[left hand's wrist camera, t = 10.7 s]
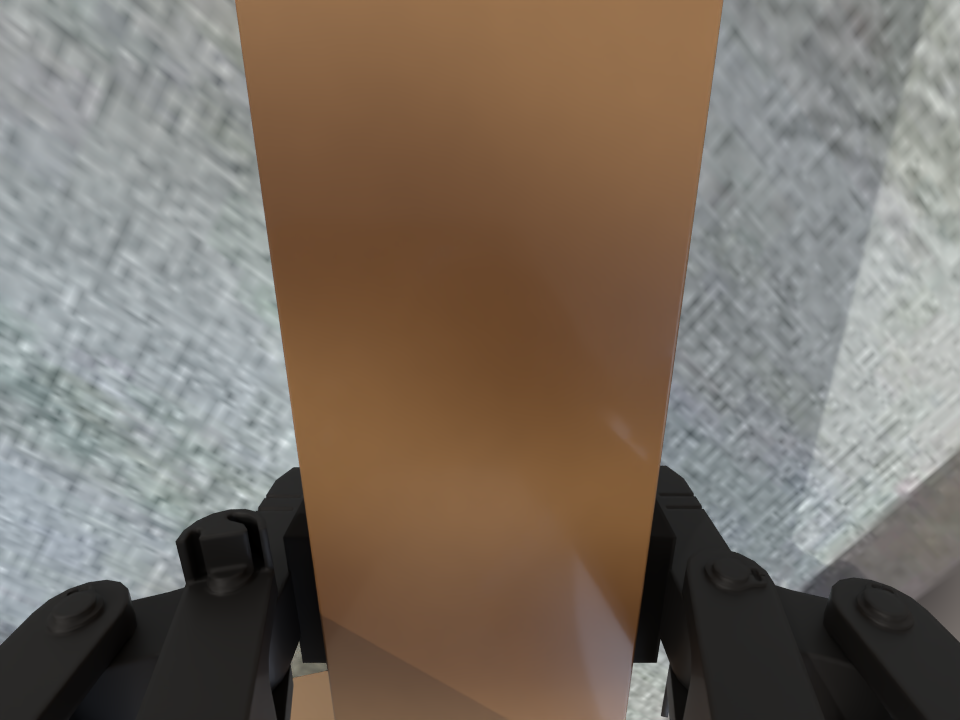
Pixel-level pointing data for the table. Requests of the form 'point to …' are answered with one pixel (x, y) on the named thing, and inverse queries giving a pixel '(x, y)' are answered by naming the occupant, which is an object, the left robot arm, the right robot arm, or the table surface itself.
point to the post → (479, 329)
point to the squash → (312, 698)
